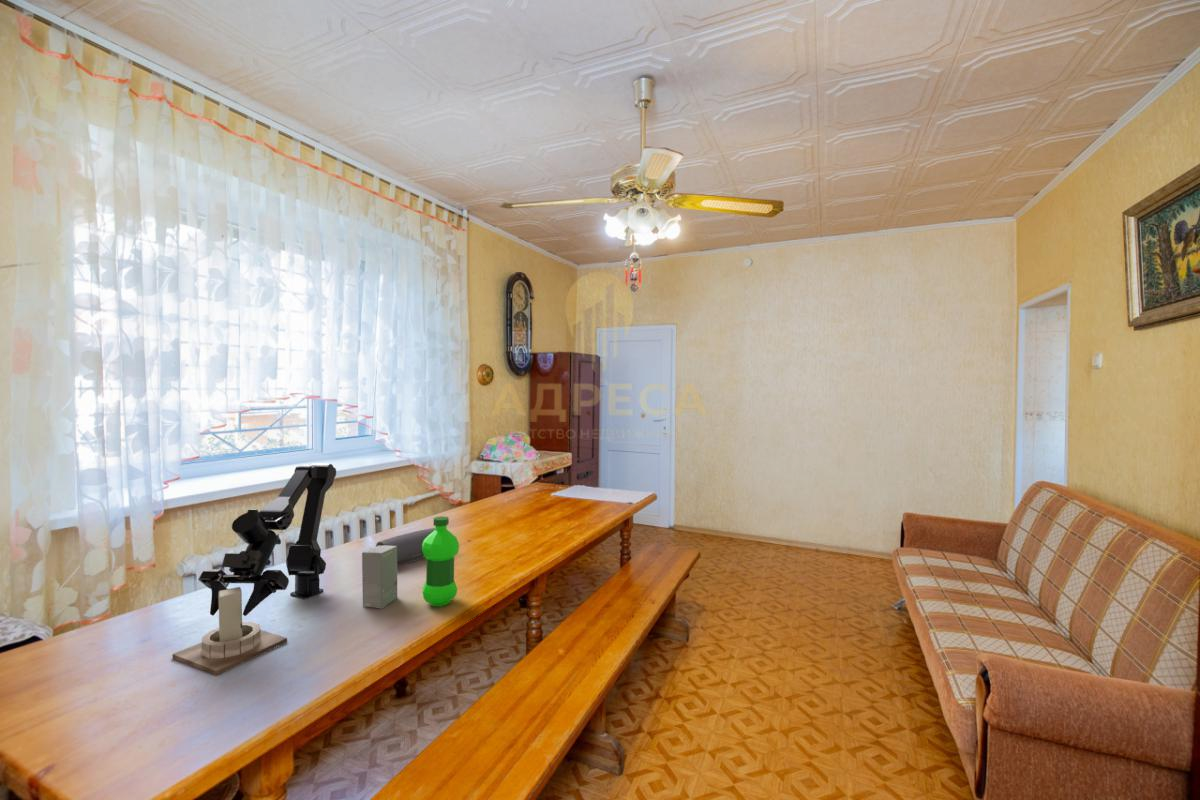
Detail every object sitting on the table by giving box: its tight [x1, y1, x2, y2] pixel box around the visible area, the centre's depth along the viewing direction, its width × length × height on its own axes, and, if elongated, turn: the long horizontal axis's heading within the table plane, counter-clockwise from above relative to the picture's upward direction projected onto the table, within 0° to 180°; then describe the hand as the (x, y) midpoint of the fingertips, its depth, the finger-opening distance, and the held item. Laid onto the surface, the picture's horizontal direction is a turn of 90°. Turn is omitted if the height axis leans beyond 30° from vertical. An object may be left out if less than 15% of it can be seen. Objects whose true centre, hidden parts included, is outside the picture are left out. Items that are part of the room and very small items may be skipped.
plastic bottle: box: [422, 516, 460, 607], centre depth 149 cm, size 10×10×25 cm
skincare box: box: [361, 545, 398, 609], centre depth 149 cm, size 8×7×16 cm
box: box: [218, 586, 243, 642], centre depth 121 cm, size 5×4×13 cm
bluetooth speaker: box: [375, 527, 435, 566], centre depth 185 cm, size 23×9×10 cm, turn 144°
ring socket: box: [172, 621, 288, 676], centre depth 121 cm, size 16×16×4 cm
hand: (228, 615), depth 119 cm, fingers open, 7 cm apart
